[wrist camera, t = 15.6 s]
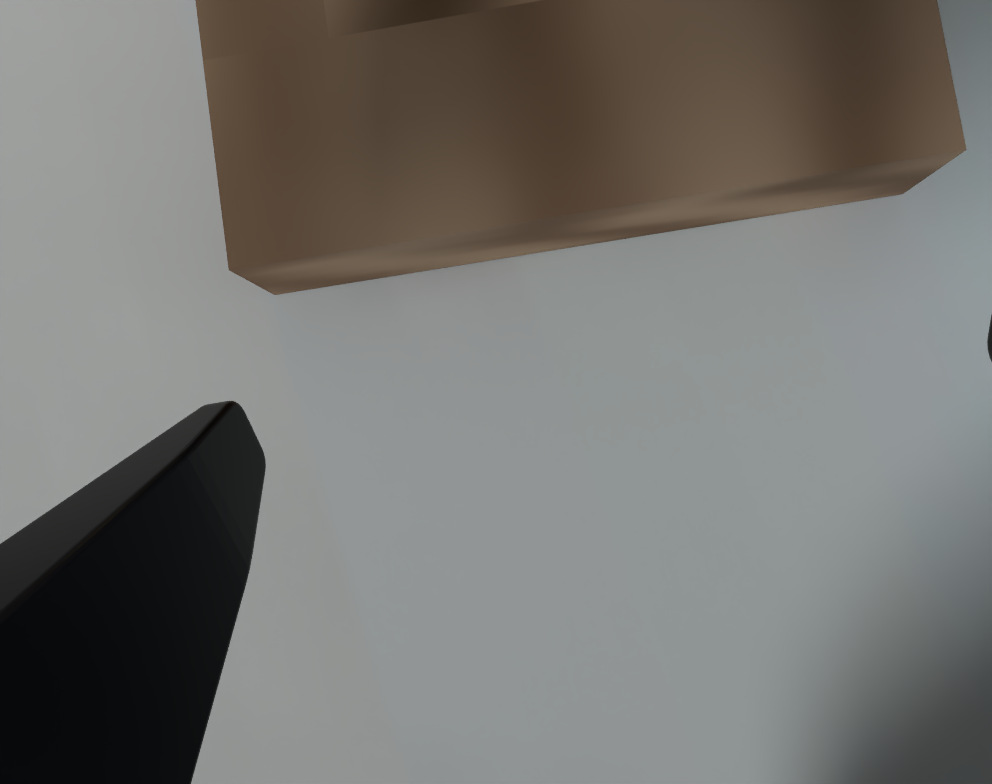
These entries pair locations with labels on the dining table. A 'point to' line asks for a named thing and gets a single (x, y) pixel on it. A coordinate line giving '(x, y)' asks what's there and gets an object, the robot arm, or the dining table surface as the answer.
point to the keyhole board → (553, 122)
